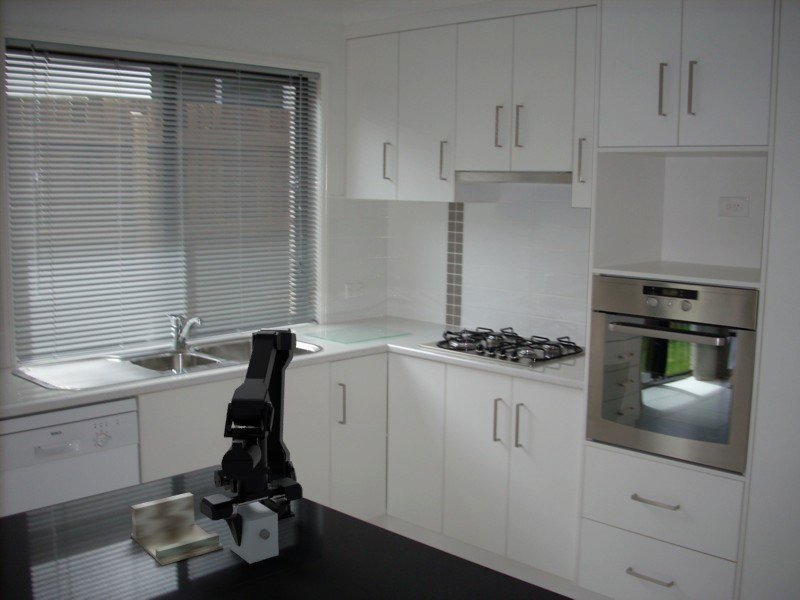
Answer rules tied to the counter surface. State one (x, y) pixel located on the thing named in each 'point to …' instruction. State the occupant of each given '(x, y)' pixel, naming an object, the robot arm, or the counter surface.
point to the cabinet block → (257, 533)
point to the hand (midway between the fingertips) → (253, 541)
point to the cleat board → (171, 529)
